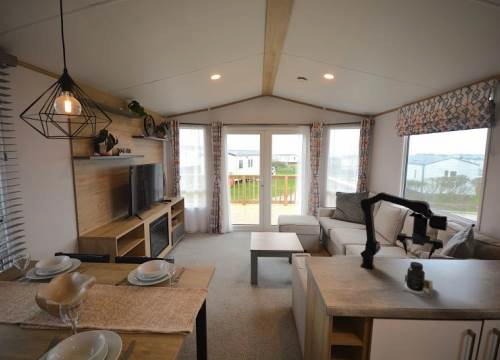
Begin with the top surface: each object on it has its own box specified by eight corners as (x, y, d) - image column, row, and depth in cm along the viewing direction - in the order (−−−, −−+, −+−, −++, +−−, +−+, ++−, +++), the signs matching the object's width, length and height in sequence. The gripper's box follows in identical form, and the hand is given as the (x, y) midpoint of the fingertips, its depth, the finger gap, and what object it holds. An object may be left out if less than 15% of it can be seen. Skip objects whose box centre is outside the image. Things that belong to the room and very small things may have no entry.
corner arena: (404, 280, 123) (405, 274, 123) (431, 288, 116) (432, 281, 116) (403, 290, 114) (403, 283, 114) (432, 298, 108) (433, 291, 107)
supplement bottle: (405, 282, 120) (407, 259, 118) (421, 286, 117) (423, 262, 116) (407, 289, 113) (409, 265, 112) (425, 293, 111) (427, 268, 109)
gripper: (396, 226, 119) (394, 257, 121) (444, 234, 108) (441, 267, 110) (398, 221, 128) (396, 250, 129) (443, 228, 117) (440, 259, 118)
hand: (417, 256), depth 121 cm, fingers open, 9 cm apart
